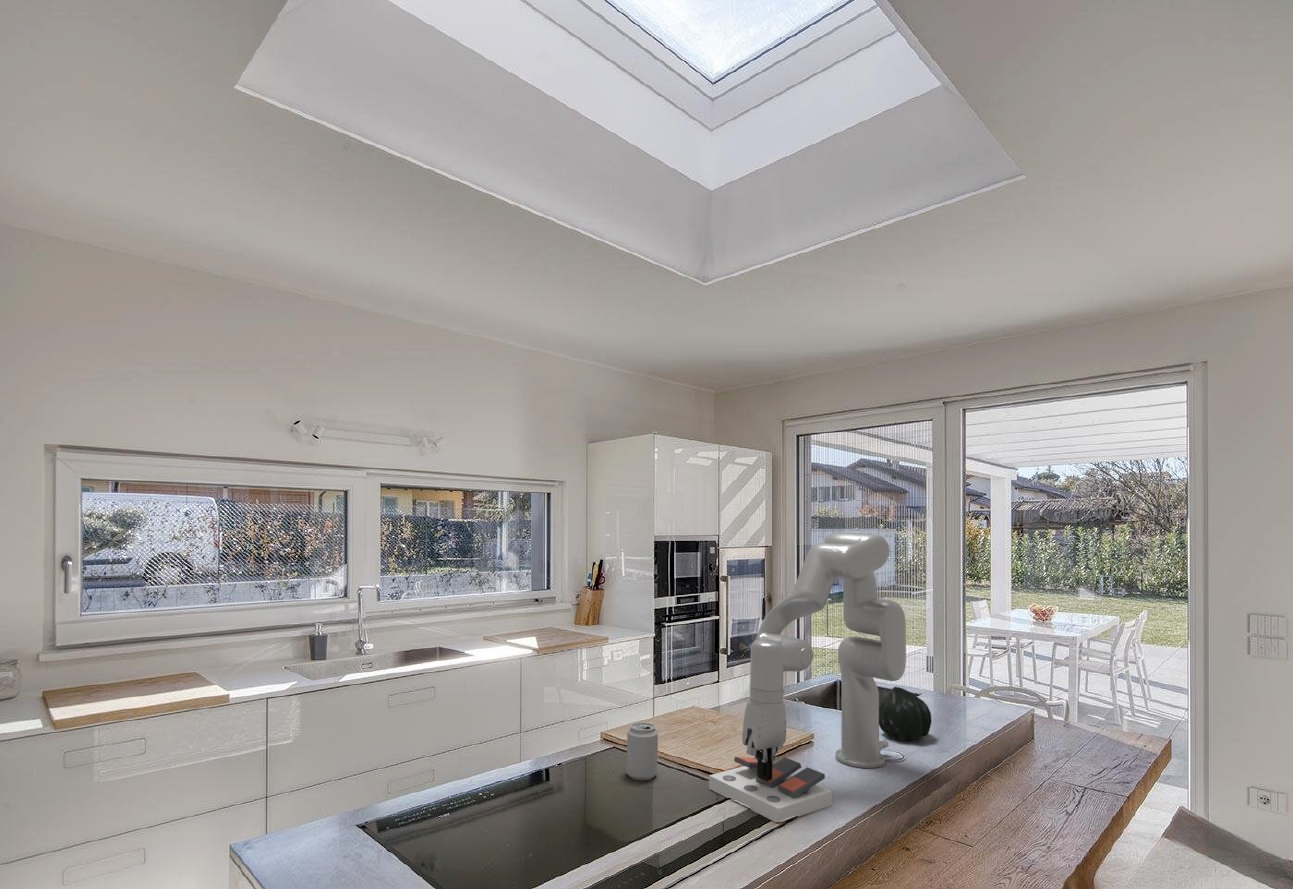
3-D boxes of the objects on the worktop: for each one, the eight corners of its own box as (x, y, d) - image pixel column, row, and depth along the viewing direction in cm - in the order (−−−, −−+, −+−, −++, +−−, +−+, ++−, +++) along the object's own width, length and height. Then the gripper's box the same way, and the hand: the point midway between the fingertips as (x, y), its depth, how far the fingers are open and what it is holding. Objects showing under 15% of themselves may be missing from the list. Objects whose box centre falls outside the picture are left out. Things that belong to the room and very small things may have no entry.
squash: (948, 720, 212) (913, 674, 219) (929, 733, 201) (893, 685, 208) (913, 744, 219) (880, 699, 226) (892, 758, 207) (858, 711, 214)
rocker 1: (763, 762, 180) (764, 757, 180) (778, 768, 175) (779, 763, 176) (734, 761, 174) (734, 756, 174) (748, 767, 170) (749, 762, 170)
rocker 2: (807, 771, 169) (807, 766, 168) (825, 778, 164) (824, 773, 164) (778, 789, 163) (777, 784, 163) (795, 797, 159) (794, 792, 159)
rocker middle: (785, 760, 174) (784, 756, 174) (801, 767, 170) (800, 762, 170) (755, 780, 168) (755, 776, 168) (771, 787, 164) (770, 783, 164)
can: (653, 782, 174) (655, 731, 174) (623, 779, 175) (624, 728, 176) (659, 771, 181) (660, 721, 182) (630, 768, 182) (631, 719, 183)
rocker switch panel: (760, 773, 181) (761, 757, 181) (831, 805, 163) (831, 787, 163) (708, 788, 171) (709, 771, 171) (778, 823, 153) (778, 804, 153)
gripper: (777, 688, 175) (775, 767, 174) (731, 695, 167) (729, 779, 165) (800, 695, 169) (799, 777, 168) (754, 703, 161) (752, 790, 159)
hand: (764, 777), depth 166 cm, fingers closed
